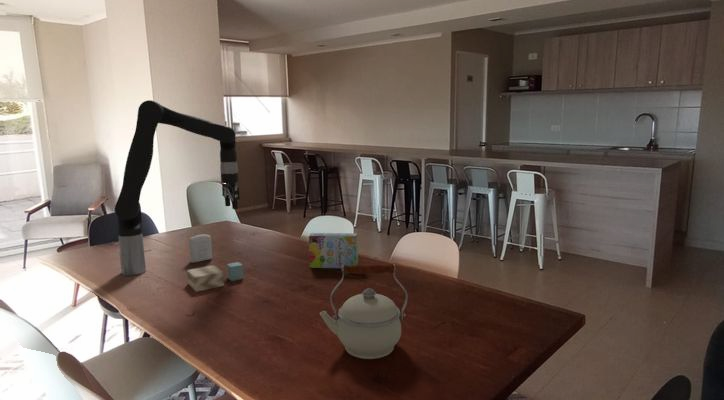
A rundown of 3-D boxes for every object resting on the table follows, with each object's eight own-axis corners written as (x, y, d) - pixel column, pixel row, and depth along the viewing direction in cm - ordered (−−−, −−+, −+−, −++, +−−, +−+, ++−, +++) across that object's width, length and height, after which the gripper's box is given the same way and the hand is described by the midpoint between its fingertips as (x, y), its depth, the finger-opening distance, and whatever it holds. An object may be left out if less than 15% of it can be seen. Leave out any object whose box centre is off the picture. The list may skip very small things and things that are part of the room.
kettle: (403, 331, 142) (403, 254, 138) (411, 362, 124) (412, 274, 119) (322, 333, 141) (320, 255, 137) (318, 365, 123) (316, 276, 119)
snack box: (358, 265, 207) (357, 232, 204) (356, 269, 202) (356, 235, 199) (312, 264, 209) (311, 232, 207) (309, 268, 204) (308, 235, 201)
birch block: (196, 292, 177) (194, 277, 176) (188, 284, 186) (187, 270, 185) (224, 286, 183) (223, 271, 182) (215, 278, 192) (214, 264, 191)
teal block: (231, 281, 188) (230, 267, 187) (227, 277, 192) (226, 264, 191) (243, 278, 191) (242, 264, 190) (239, 275, 195) (238, 261, 194)
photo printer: (209, 257, 222) (208, 232, 220) (214, 258, 219) (212, 233, 217) (189, 261, 215) (187, 236, 213) (193, 263, 212) (191, 237, 210)
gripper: (215, 171, 208) (217, 206, 211) (227, 173, 197) (229, 211, 200) (231, 169, 213) (233, 204, 215) (243, 172, 201) (245, 208, 204)
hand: (231, 207), depth 208 cm, fingers open, 8 cm apart
